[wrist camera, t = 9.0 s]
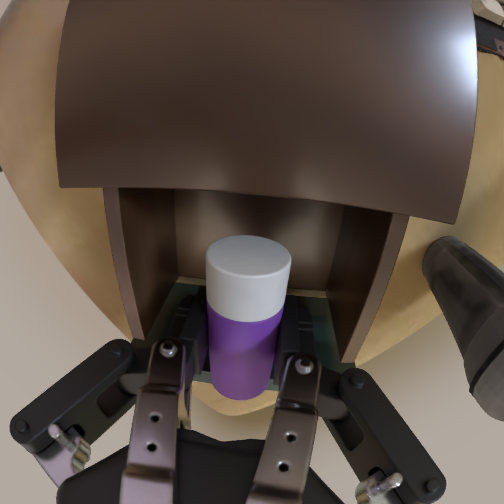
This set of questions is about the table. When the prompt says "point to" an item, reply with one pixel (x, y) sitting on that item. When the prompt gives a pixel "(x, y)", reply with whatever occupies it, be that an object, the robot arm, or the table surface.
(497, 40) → the mechanical keyboard
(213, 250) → the glue stick
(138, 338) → the drawer
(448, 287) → the beverage cup
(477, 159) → the table surface
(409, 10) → the cabinet
